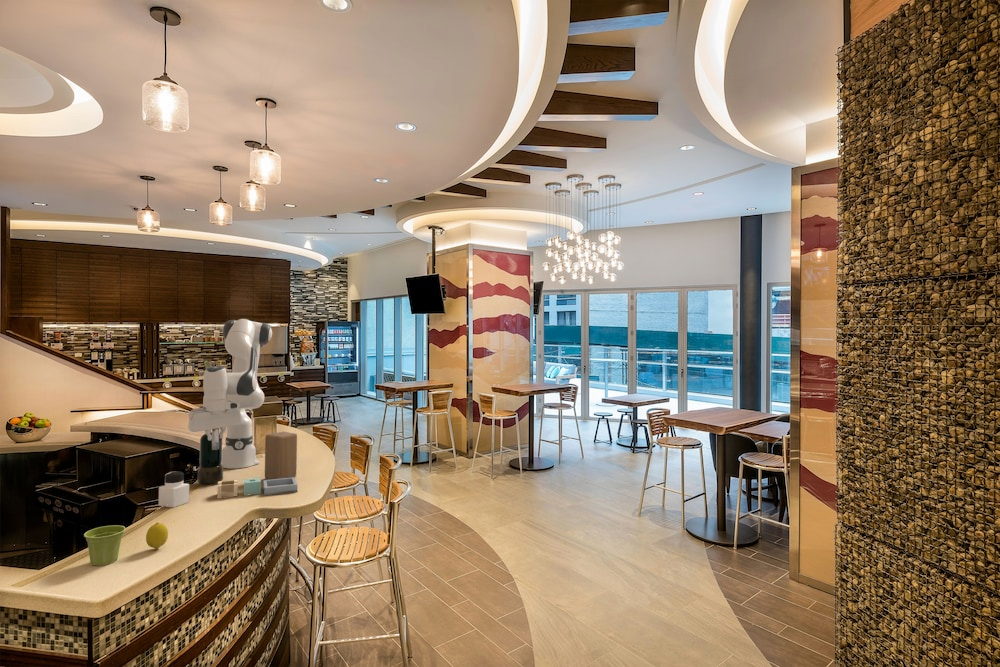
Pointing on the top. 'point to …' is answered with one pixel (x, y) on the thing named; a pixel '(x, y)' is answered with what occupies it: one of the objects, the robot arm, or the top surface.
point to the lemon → (157, 535)
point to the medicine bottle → (174, 490)
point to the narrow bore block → (252, 486)
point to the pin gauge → (215, 439)
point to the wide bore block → (227, 488)
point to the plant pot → (104, 544)
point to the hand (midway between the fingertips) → (215, 439)
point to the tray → (279, 486)
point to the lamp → (210, 462)
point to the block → (280, 455)
